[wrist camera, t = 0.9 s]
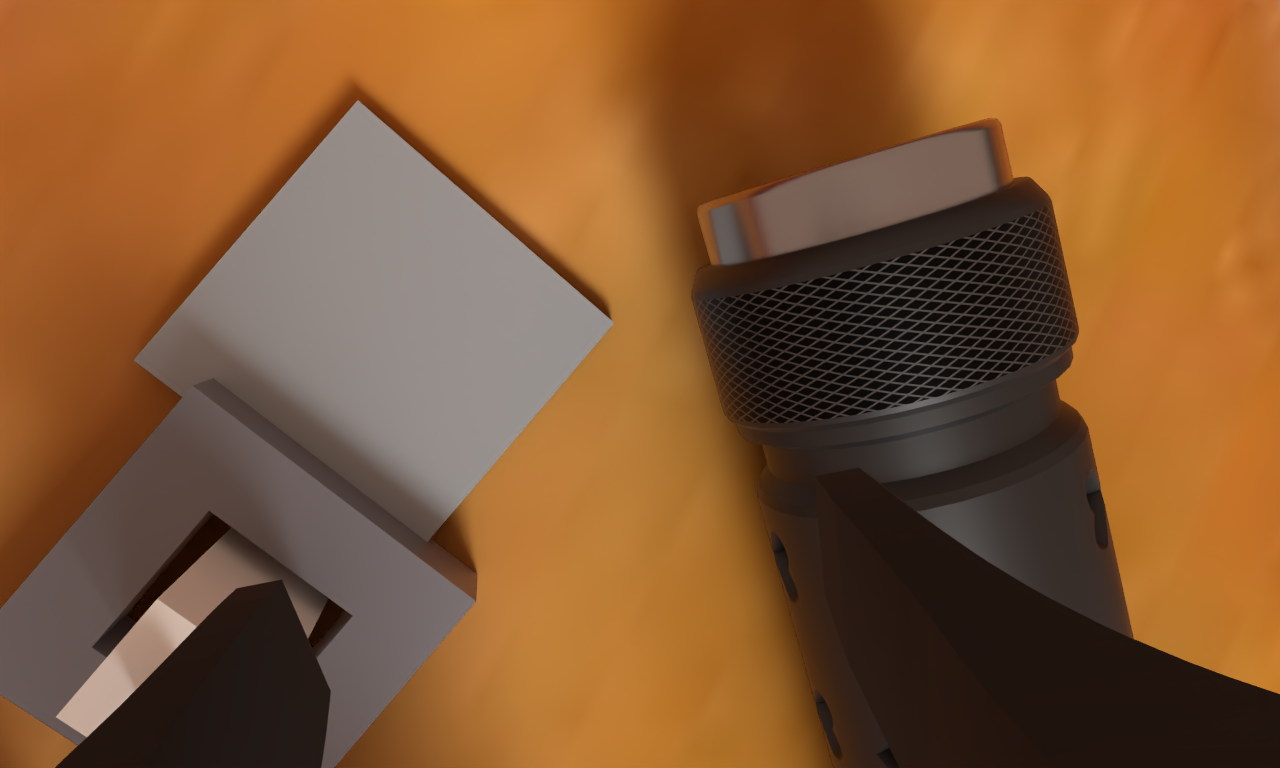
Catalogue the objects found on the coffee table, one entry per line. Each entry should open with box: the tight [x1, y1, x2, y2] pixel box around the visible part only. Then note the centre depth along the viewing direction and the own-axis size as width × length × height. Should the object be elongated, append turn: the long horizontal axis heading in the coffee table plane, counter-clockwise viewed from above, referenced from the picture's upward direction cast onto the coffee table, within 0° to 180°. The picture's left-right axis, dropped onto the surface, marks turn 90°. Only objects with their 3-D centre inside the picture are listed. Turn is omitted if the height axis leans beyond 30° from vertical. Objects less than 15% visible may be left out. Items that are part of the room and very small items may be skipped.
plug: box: [56, 527, 329, 737], centre depth 25 cm, size 4×4×8 cm
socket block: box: [0, 378, 477, 768], centre depth 27 cm, size 10×10×2 cm
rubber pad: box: [133, 100, 614, 542], centre depth 28 cm, size 10×10×1 cm
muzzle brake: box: [691, 118, 1134, 768], centre depth 27 cm, size 10×28×10 cm, turn 16°
